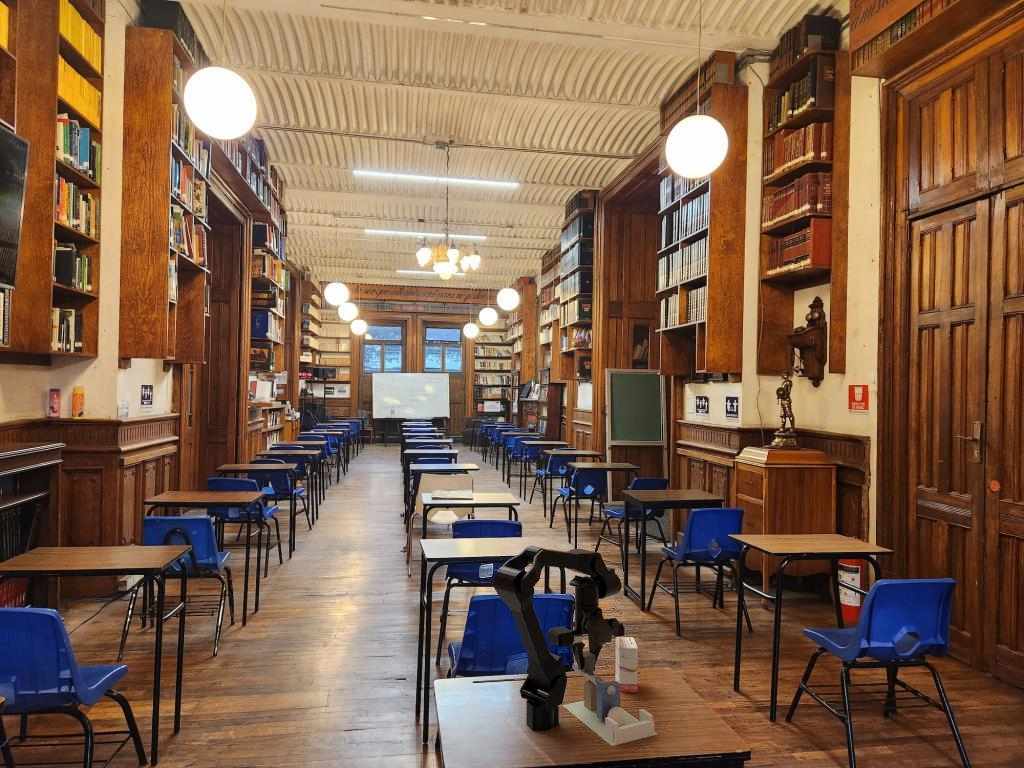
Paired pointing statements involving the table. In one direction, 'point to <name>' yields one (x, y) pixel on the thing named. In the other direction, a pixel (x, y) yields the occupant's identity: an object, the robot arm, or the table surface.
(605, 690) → the player rod
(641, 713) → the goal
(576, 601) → the robot arm
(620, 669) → the ink cartridge box
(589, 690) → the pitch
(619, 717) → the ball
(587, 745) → the table surface
